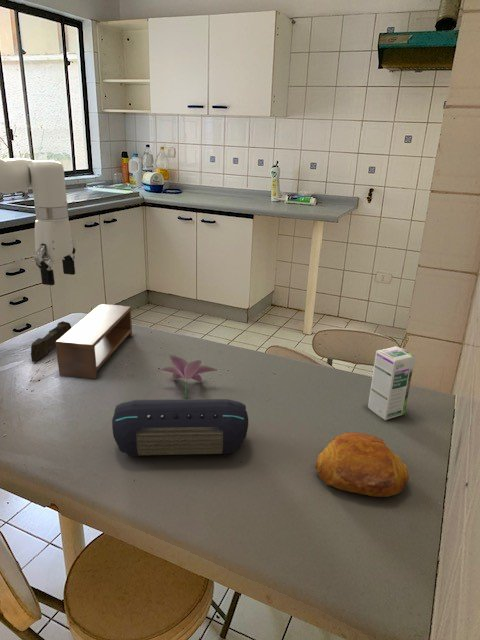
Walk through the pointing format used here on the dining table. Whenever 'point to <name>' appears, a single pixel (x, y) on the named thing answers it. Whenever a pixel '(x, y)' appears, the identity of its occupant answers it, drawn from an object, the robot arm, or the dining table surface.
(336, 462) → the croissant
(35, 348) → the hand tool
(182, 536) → the dining table surface
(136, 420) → the portable speaker
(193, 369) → the lily
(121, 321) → the shelf stand
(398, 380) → the syrup box
